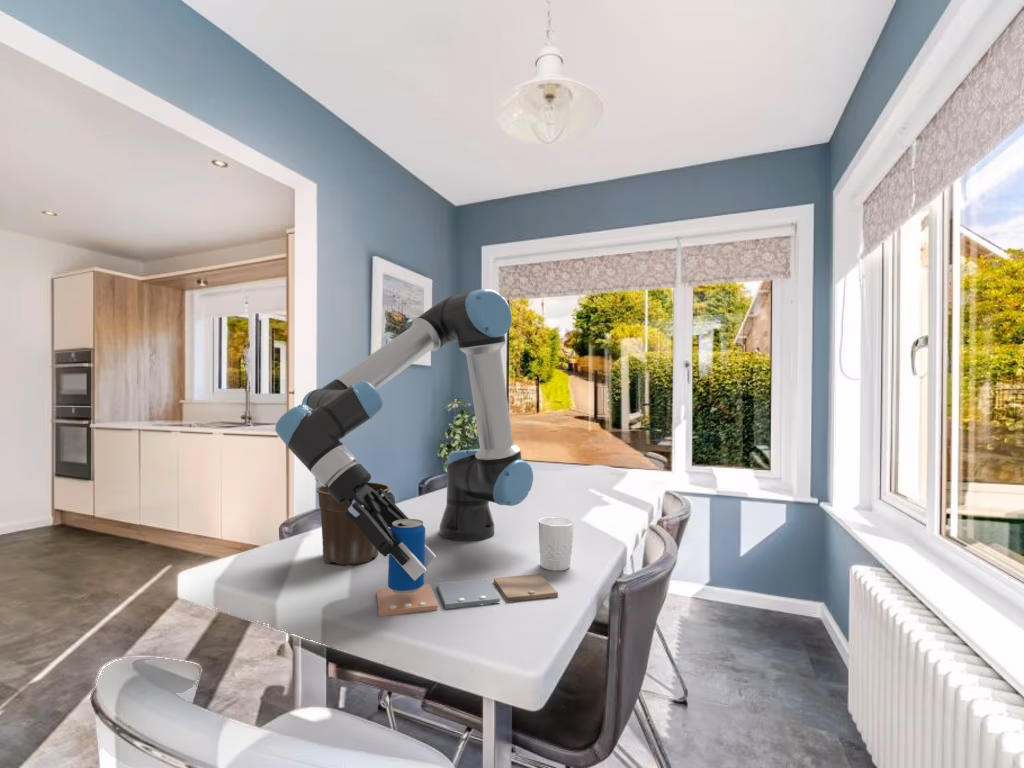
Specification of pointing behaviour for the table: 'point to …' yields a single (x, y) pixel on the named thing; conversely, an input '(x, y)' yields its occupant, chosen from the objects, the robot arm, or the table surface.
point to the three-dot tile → (405, 601)
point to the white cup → (555, 543)
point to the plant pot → (344, 531)
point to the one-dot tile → (524, 587)
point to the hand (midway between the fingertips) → (425, 567)
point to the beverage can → (414, 540)
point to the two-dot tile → (467, 593)
